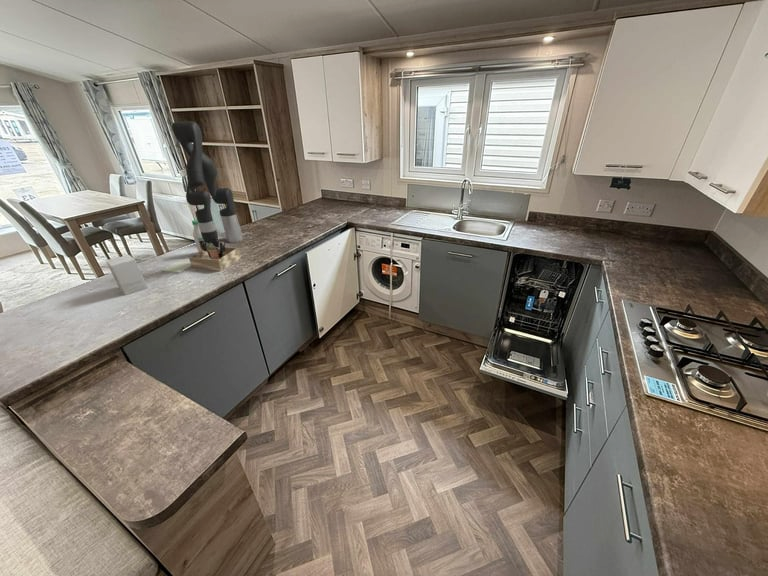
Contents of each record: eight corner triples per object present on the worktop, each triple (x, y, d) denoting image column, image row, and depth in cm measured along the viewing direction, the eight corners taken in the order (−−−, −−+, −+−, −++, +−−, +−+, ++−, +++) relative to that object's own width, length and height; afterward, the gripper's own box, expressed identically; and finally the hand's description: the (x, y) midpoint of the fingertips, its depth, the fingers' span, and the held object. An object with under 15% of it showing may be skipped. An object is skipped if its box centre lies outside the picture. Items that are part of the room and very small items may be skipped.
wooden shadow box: (214, 255, 175) (211, 245, 172) (241, 257, 172) (238, 247, 169) (192, 267, 160) (188, 257, 157) (221, 270, 157) (218, 260, 154)
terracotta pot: (216, 257, 169) (210, 239, 163) (225, 258, 168) (220, 240, 162) (208, 261, 164) (202, 243, 158) (218, 263, 163) (213, 244, 157)
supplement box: (142, 282, 146) (129, 254, 138) (148, 288, 141) (135, 259, 133) (119, 289, 140) (104, 260, 132) (124, 295, 135) (110, 265, 127)
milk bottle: (197, 256, 173) (186, 223, 163) (200, 251, 179) (190, 219, 169) (212, 255, 175) (202, 222, 165) (214, 250, 181) (205, 218, 171)
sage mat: (178, 262, 166) (177, 261, 166) (195, 264, 164) (195, 263, 164) (161, 270, 156) (161, 270, 156) (179, 272, 155) (179, 272, 154)
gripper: (224, 228, 159) (232, 257, 167) (201, 226, 161) (210, 254, 170) (215, 232, 152) (224, 262, 161) (190, 230, 155) (200, 260, 163)
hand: (216, 258), depth 165 cm, fingers closed on terracotta pot, 5 cm apart
